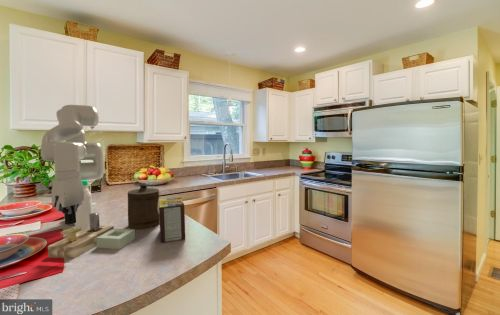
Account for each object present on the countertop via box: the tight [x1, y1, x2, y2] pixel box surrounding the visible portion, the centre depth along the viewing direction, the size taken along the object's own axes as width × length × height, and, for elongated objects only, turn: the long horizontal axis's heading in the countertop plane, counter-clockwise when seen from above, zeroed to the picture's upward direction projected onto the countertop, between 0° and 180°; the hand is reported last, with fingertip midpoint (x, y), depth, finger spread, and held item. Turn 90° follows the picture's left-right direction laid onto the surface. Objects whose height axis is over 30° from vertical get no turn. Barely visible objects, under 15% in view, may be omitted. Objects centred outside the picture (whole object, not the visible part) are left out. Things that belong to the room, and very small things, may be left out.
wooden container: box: [127, 182, 160, 231], centre depth 124 cm, size 15×15×22 cm
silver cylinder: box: [89, 212, 101, 232], centre depth 105 cm, size 4×4×11 cm
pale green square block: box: [96, 228, 136, 250], centre depth 101 cm, size 10×10×5 cm
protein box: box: [159, 197, 186, 244], centre depth 112 cm, size 10×15×16 cm
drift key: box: [60, 227, 81, 243], centre depth 94 cm, size 4×4×5 cm
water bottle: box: [74, 180, 93, 233], centre depth 114 cm, size 7×7×25 cm
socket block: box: [47, 225, 115, 259], centre depth 100 cm, size 10×22×5 cm, turn 173°
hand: (70, 223), depth 93 cm, fingers closed
